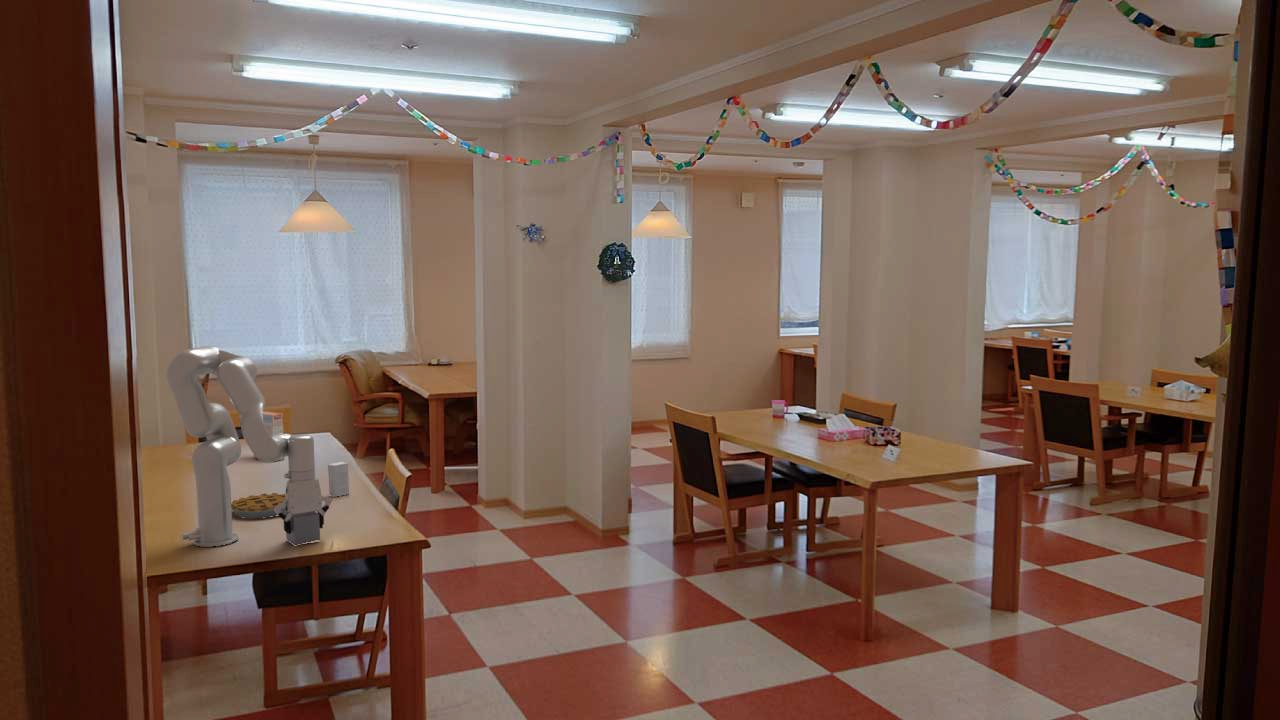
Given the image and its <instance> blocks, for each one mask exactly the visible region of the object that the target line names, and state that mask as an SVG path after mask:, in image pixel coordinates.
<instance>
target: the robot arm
mask: <svg viewBox="0 0 1280 720" xmlns="http://www.w3.org/2000/svg"><path fill="white" fill-rule="evenodd" d="M166 369H167V370H166V379H167V383H168V385H169V388H170V390H171V393H172V394H173V397H174V400H175V403H176V406H177V408H178V412H179V415H180V417H181V418H180V419H181V420H182V423H183V425H184V428H185V431H186V432H187V433H188V435H189V436H191V437H192V438H196V439H199V438H205V437H206V440H205V441H204V442H202V443H200V444H199V445H197V446H196V447H195V448H194V450H193V452H192V455H191V463H192V468H193V471H194V476H195V487H196V501H197V502H196V505H197V521H198V522H197V524H198V527H195V530H193V531H192V532H186V533H185V532H184V533H181V539H182V541H186V540H188V541H193V545H194V546H196V547H199V546H200V547H201V548H214V547H213V546H216V547H222V546H221V545H223V546H226V544H227V545H230V544H229V543H231V544H233V543H232V542H234V541H236V540H237V539H238V540H239V534H237V533H235V532H234V530H233V529H234V527H233V510H232V507H231V503H232V491H231V479H230V476H229V473H228V469H227V467H228V466H231V465H233V464H235V463H236V462H237V461H238V460H239V459H240V457H241V455H242V444H241V441H240V439H239V435H238V432H237V429H236V427H235V425H234V421H233V419H232V416H231V415H230V412H229V411H228V410H227V408H226V407H224V406H223V405H222V404H220V403H216V402H210V401H209V399H208V397H207V394H206V392H205V389H204V387H203V385H202V384H201V383H200V382H199V380H198V377H199V376H204V375H208V374H211V375H214V376H216V378H217V381H218V382H219V384H220V385H221V387H222V388H223V390H224V392H225V393H226V395H227V397H228V398H229V400H230V402H231V403H232V405H233V407H234V408H235V410H236V412H237V413H238V418H239V419H238V420H239V425H240V428H241V430H240V431H241V433H242V436H243V439H244V440H245V442H246V444H247V446H248V447H249V450H251V452H252V453H253V456H254V455H255V456H256V457H257V458H258V459H257V460H259V461H260V462H262V463H267V464H271V463H274V461H275V462H277V461H276V460H278V459H281V458H283V457H284V458H286V457H287V459H288V460H287V461H288V470H287V473H284V474H283V477H284V479H288V480H287V482H286V486H285V493H284V494H285V501H283V502H282V503H280V504H279V505H277V506H276V507H274V510H275V512H276V513H277V515H278V516H277V517H279V518H280V519H281V520H283V530H284V531H285V534H286V533H288V534H291V521H289V519H290V518H291V516H292V515H297V514H303V513H309V512H316V513H318V514H319V522H320V529H323V528H324V527H323V526H324V525H325V518H324V517H325V515H326V513H327V511H328V510H329V508H330V506H331V504H332V502H333V500H332V499H331V498H329V497H327V496H323V495H322V492H321V491H322V490H321V484H320V481H319V478H318V477H316V466H315V465H316V464H315V463H316V462H315V459H316V458H315V440H314V437H313V436H312V435H310V434H300V433H299V434H291V433H284V432H283V433H277V434H274V435H270V433H269V432H268V430H267V428H266V426H265V424H264V421H263V411H264V408H265V405H266V399H265V397H264V395H263V394H262V392H261V390H260V389H259V387H258V386H257V384H256V382H255V381H254V380H255V379H256V377H257V375H258V368H257V366H256V364H255V362H253V360H251V359H250V358H248V357H246V356H243V355H240V354H237V353H234V352H231V351H229V350H225V349H221V348H219V347H215V346H211V345H209V346H208V345H205V346H200V347H199V346H198V347H193V348H188V349H185V350H182V351H179V352H178V353H177V354H176V355H175V356H174V357H172V359H171V360H170V362H169V364H168V366H167V368H166ZM323 502H325V503H324V505H323ZM283 507H285V510H286V512H285V514H282V512H281V509H282V508H283ZM238 540H237V541H238ZM237 541H236V542H237ZM234 543H235V542H234Z"/></svg>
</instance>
